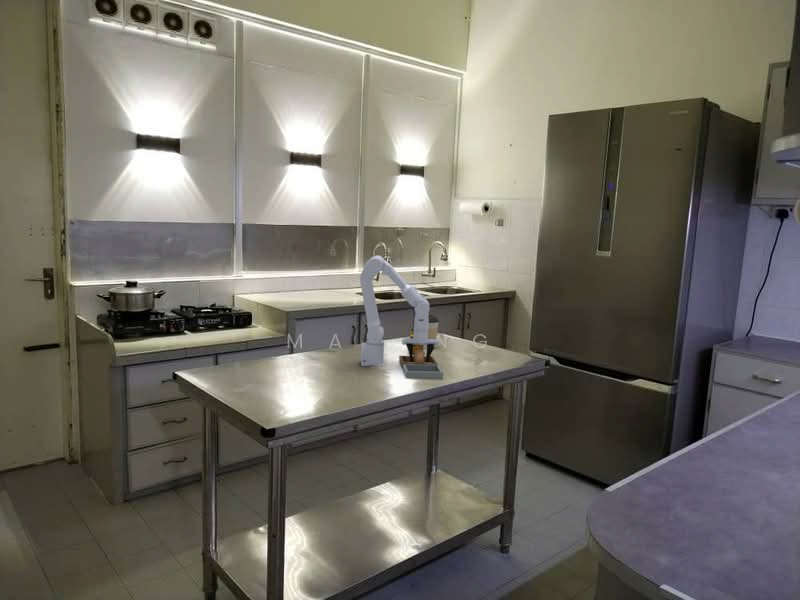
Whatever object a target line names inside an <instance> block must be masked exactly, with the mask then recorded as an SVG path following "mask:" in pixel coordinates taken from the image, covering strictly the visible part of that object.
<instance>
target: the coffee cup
mask: <svg viewBox="0 0 800 600" xmlns="http://www.w3.org/2000/svg"><path fill="white" fill-rule="evenodd" d="M428 318H429V322H428V339H432V340H438V339H437V338H438V330H439V321H440V319H439V318H437V316H436V315H433V314H429V316H428ZM424 348H427V345H424V347H423V349H424ZM434 349H436V345H434Z"/></svg>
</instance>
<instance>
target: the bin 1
mask: <svg viewBox="0 0 800 600" xmlns="http://www.w3.org/2000/svg"><path fill="white" fill-rule="evenodd" d="M398 358H399V360H398V362H399V364H400V366H401V367H400V368H401V370H403V364H420V365H439V363H438V362H437V361H436V359H435V358H434V356H432V355H430V358H429V361H428V363H426V355H424V363H414V358H415V355H413V362H410V356H409V355H399V356H398Z"/></svg>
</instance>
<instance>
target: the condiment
mask: <svg viewBox="0 0 800 600" xmlns="http://www.w3.org/2000/svg"><path fill="white" fill-rule="evenodd" d="M413 337H414V327H412V328H411V331H410V336H409V339H413ZM423 347H424V345H413V356H415V350H424V348H423ZM426 354H427V352H425V355H426Z"/></svg>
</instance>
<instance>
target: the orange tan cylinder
mask: <svg viewBox="0 0 800 600" xmlns="http://www.w3.org/2000/svg"><path fill="white" fill-rule="evenodd" d="M425 353H426V352H425V350H424V349H423V350H415V355H414V356H415V358H414V363H424V356H426V354H425Z"/></svg>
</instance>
